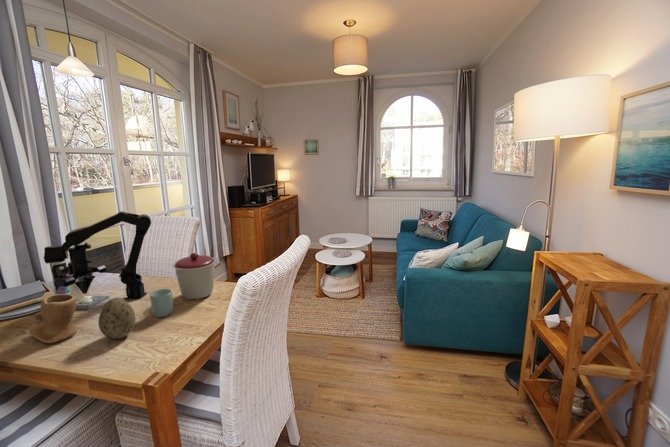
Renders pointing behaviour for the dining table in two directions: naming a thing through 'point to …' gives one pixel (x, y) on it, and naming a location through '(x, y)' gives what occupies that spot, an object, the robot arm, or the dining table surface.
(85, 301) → the button
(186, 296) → the canister
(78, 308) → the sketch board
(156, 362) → the dining table surface
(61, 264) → the spray can
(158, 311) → the cup
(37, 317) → the stand
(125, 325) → the decorative egg
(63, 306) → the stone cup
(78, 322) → the dining table surface
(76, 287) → the white pink-capped bottle
